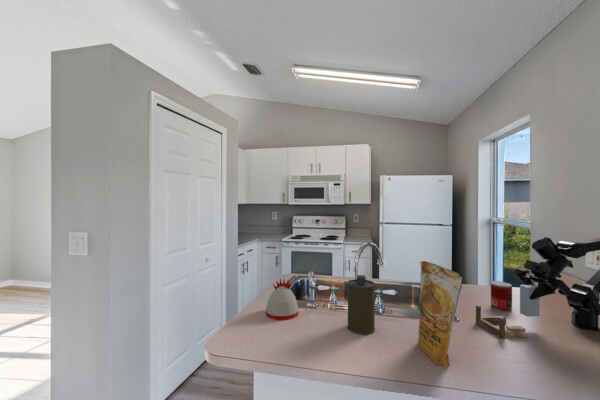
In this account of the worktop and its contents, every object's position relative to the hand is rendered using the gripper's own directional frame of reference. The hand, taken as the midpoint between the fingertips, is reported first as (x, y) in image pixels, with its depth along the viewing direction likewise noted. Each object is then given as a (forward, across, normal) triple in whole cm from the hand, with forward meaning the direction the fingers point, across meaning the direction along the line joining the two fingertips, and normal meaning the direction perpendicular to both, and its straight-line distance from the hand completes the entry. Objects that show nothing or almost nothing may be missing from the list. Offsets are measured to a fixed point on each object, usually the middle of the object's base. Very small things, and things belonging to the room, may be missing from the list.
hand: (526, 297), depth 110 cm
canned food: (+3, -21, +14) cm, 25 cm away
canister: (+53, -6, -36) cm, 64 cm away
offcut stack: (+15, +5, +2) cm, 16 cm away
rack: (+15, 0, +2) cm, 15 cm away
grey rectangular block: (+4, 0, +6) cm, 7 cm away
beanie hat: (+73, -23, -57) cm, 96 cm away
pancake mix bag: (+40, +14, -24) cm, 49 cm away
